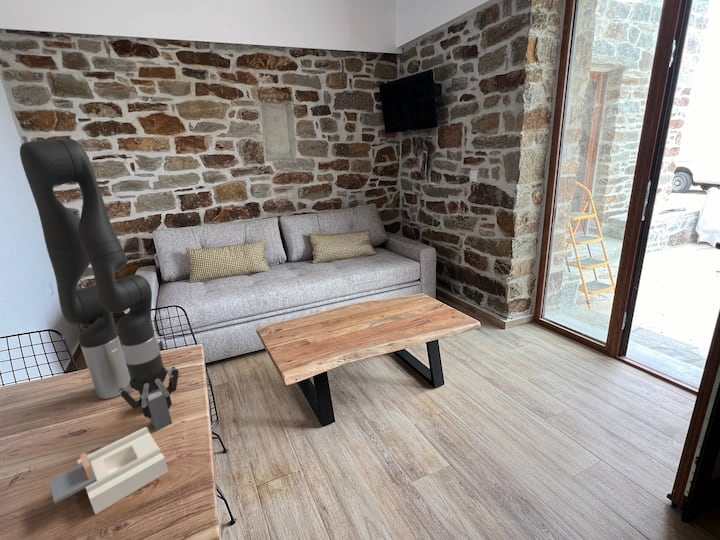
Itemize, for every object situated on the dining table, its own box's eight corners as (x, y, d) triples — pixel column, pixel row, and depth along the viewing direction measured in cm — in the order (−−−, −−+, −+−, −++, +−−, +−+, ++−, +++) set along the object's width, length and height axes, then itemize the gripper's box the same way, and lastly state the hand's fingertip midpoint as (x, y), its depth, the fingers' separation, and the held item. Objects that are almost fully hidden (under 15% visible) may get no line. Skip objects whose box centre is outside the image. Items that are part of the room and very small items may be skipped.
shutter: (50, 482, 77) (44, 469, 76) (90, 462, 81) (85, 449, 80) (54, 503, 72) (48, 489, 71) (97, 481, 77) (92, 467, 75)
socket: (82, 473, 84) (75, 456, 82) (149, 439, 93) (144, 423, 91) (95, 514, 74) (88, 495, 73) (168, 471, 83) (163, 454, 82)
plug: (151, 423, 98) (141, 391, 95) (167, 416, 101) (158, 384, 98) (155, 431, 96) (146, 398, 92) (172, 423, 98) (163, 390, 95)
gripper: (167, 339, 99) (181, 393, 104) (105, 361, 90) (124, 419, 95) (177, 348, 94) (191, 405, 99) (113, 373, 84) (132, 434, 90)
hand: (158, 411), depth 97 cm, fingers closed on plug, 4 cm apart
